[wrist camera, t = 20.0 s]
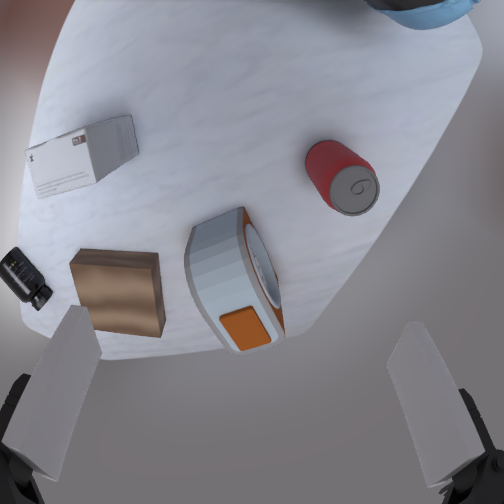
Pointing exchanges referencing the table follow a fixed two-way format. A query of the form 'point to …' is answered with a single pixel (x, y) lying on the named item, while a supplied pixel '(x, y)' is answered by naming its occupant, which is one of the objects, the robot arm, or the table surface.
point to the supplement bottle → (24, 279)
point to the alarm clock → (234, 283)
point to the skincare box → (81, 156)
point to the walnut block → (120, 290)
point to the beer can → (342, 178)
